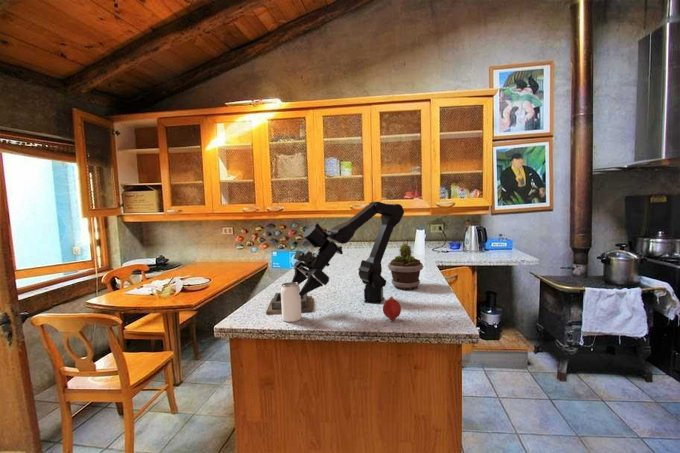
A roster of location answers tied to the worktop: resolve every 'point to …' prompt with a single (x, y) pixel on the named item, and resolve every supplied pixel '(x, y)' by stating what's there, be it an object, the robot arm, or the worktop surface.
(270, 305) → the socket
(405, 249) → the flowerpot
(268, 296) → the worktop surface
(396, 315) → the onion
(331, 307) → the worktop surface
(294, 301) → the can
